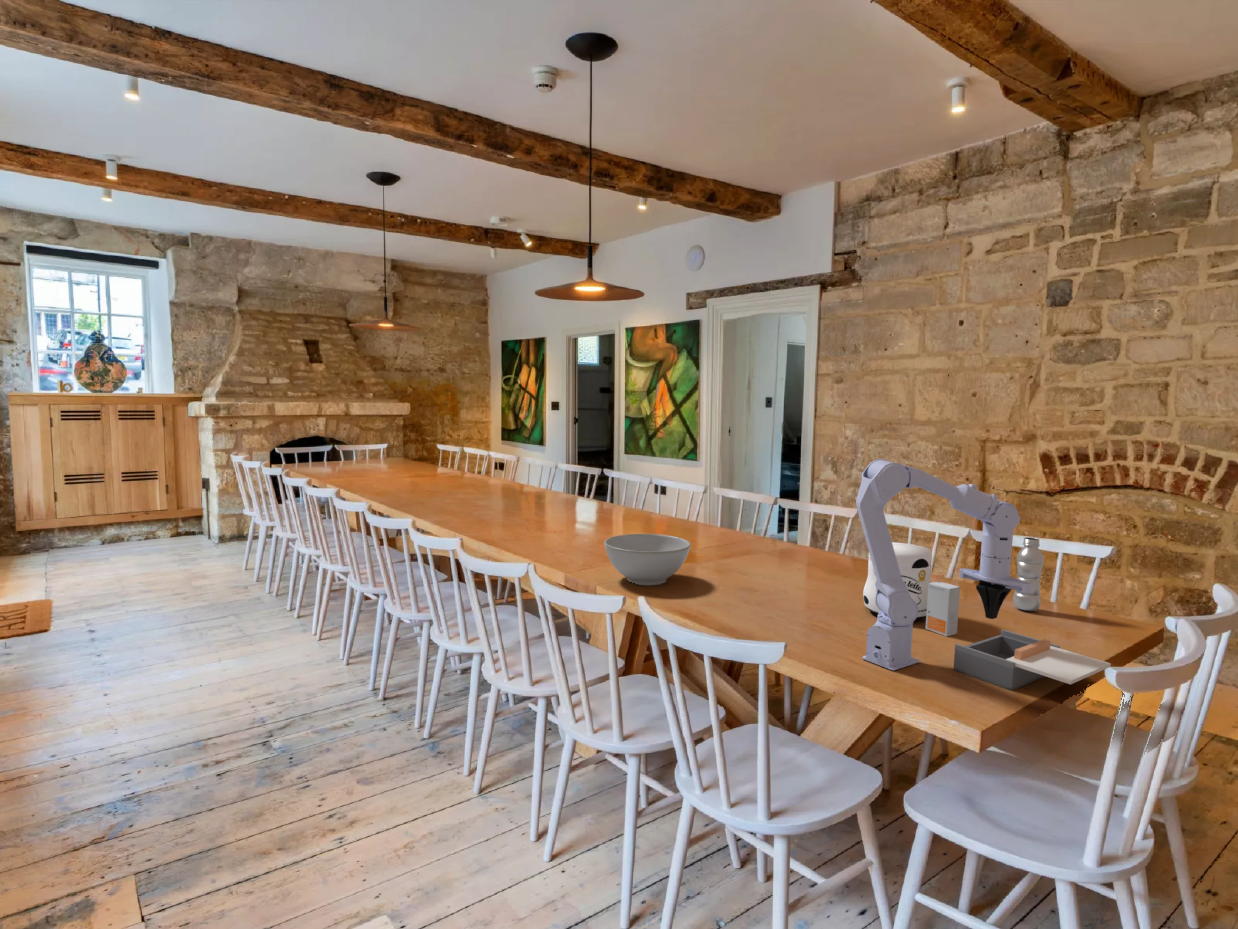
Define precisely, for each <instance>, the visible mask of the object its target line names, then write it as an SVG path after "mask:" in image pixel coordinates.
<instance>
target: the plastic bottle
mask: <svg viewBox="0 0 1238 929" xmlns="http://www.w3.org/2000/svg"><path fill="white" fill-rule="evenodd" d="M1022 545H1023V547H1022V548H1021V549H1020V550H1019V551H1018V553H1017V554H1016V566H1017V574H1016V576H1017V578H1016V579H1018V580H1021V581H1024V582H1028V583H1032V587H1031V593H1027V594H1025V593H1022V592H1021V591H1017V590H1014V593H1013V597H1012V602H1013V606H1014V607H1015V608H1016V609H1019V610H1022V611H1025V612H1037V611H1038V610H1039V609H1040V607H1041V603H1042V601H1041V600H1042V599H1041V576H1042V571H1043V568H1044V563H1045V557H1044V554H1043V553H1042V551H1041V550H1040V549H1039V547H1040V539H1039V538H1036V537H1023V543H1022Z"/></svg>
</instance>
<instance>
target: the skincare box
mask: <svg viewBox="0 0 1238 929" xmlns="http://www.w3.org/2000/svg"><path fill="white" fill-rule="evenodd" d="M960 592H961V587H960V586H958V585H954V584H951V583H947V582H943V581H940V580H939V581H933V582H931V583H929V585H928V599H927V613H926V617H925V630H928V631H931V632H933V633H936V634H939V635H941V636H944V637H950V636H954V635H957V633H958V621H959V619H958V618H959V606H960Z"/></svg>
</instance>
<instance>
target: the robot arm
mask: <svg viewBox="0 0 1238 929" xmlns="http://www.w3.org/2000/svg"><path fill="white" fill-rule="evenodd" d="M905 488H906V489H909V490H910V489H914V488H920V489H922V490H925V491H927V492H929V493H932V494H935V495H937V496H939V497H942V498H944V499H947V500H948V502H949V505H950V507H951V508H952V509H954V510H956V511H958V512H959V513H962V514H966V515H967V516H969V517H971V518H974V519H975V520H978V521H981V522H982V523H983V524H982V536H981V545H980V546H981V547H980V562H979V563H980V564H979V570H977V569H970V568H965V567H963V568H959V573H958V575H959V576H958V578H960V579H967V580H971V581H976V582H979V583H978V584H976V585H975V589H976V591H977V593H978V595H979V597H980V599H981V602H982V605H983V609H984V614H985V615H984V616H985V618H986V619H990V620H994V619H997V618H998V614H999V611H1000V609H1001V607H1002V606H1003V603H1004V601H1005V599H1006V598H1007V597H1008V595H1009V594H1010V592H1011V591H1012V590H1014V591H1015V590H1017V591H1021V592H1022V593H1025V594H1027V593H1031V587H1032V583H1028V582H1024V581H1021V580H1018V579H1017V578H1015V577H1011V563H1012V562H1011V561H1012V554H1013V552H1012V551H1013V537H1014V530H1015V528H1016V527H1017V526H1018V525H1019V523H1020V521H1021V515H1019V511H1018V509H1017V508H1016V505H1014V504H1012V503H1010V502H1007V501H1003V500H1000V499H998V498H999V496H998V495H995V494H992V493H991V494H988V493H986V492H983V491H981V490H979V489H978V486H977V485H975V484H972V483H969V484H965V483H964V484H963V483H962V484H959V485H956V486H955V485H953V484H951V483H949V482H946V481H945V480H943V479H940V478H938V477H936V476H934V475H933V474H930V473H928V472H926V471H924V470H922V469H920V468H916V467H913V466H908V465H905V464H902V463H899V462H894V461H893V462H892V461H890V460H888V459H885V458H877V459H874V460H872V461H871V462H870V463H869V464H868V465H867V466H866V467H865V469H864V470H863V471H862V472H861V481H860V485H859V489H858V493H857V495H856V500H855V506H856V510H857V514H858V516H859V520H860V524H861V527H862V531H863V535H864V538H865V542H866V546H867V551H868V554H869V553H870V557H871V560H872V564H873V568H874V571H875V575H876V578H877V580H876V583H875V586H876V596H875V603H876V605H877V607H878V608H879V609H880V611H879V614H877V618H876V622H875V623H874V624H873V625H872V626H870V627H869V628H868V630H867V632H866V644H865V649H866V650H865V655H863V656H862V657H861V658H862V660H865V661H867V662H870V663H873V664H876V665H878V666H880V667H883V668H886V669H888V670H890V671H896V670H900V669H902V668H905V667H908V666H912V665H915V664H918V663H920V659H918V658H916V657H913V656H912V644H913V630H914V621H916V620H917V619H916V618H917V616H918V606H917V604H916V602H915V601H914V600H913V599H912V598H911V596H910V594H909V591H908V588H907V587H906V585H905V583H904V581H903V579H902V577H901V573H900V570H899V566H898V563H897V559H896V555H895V552H894V548H893V544H892V542H893V540H892V538H891V533H890V530H889V527H888V523H887V520H886V517H885V516H886V515H885V512H884V508H885V507H886V505H887V503H888V502H889V501H890V500H891V499H892V498H893V497H894V496H896V495H897V494H899V493H901V492H902V491H903V490H904V489H905Z"/></svg>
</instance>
